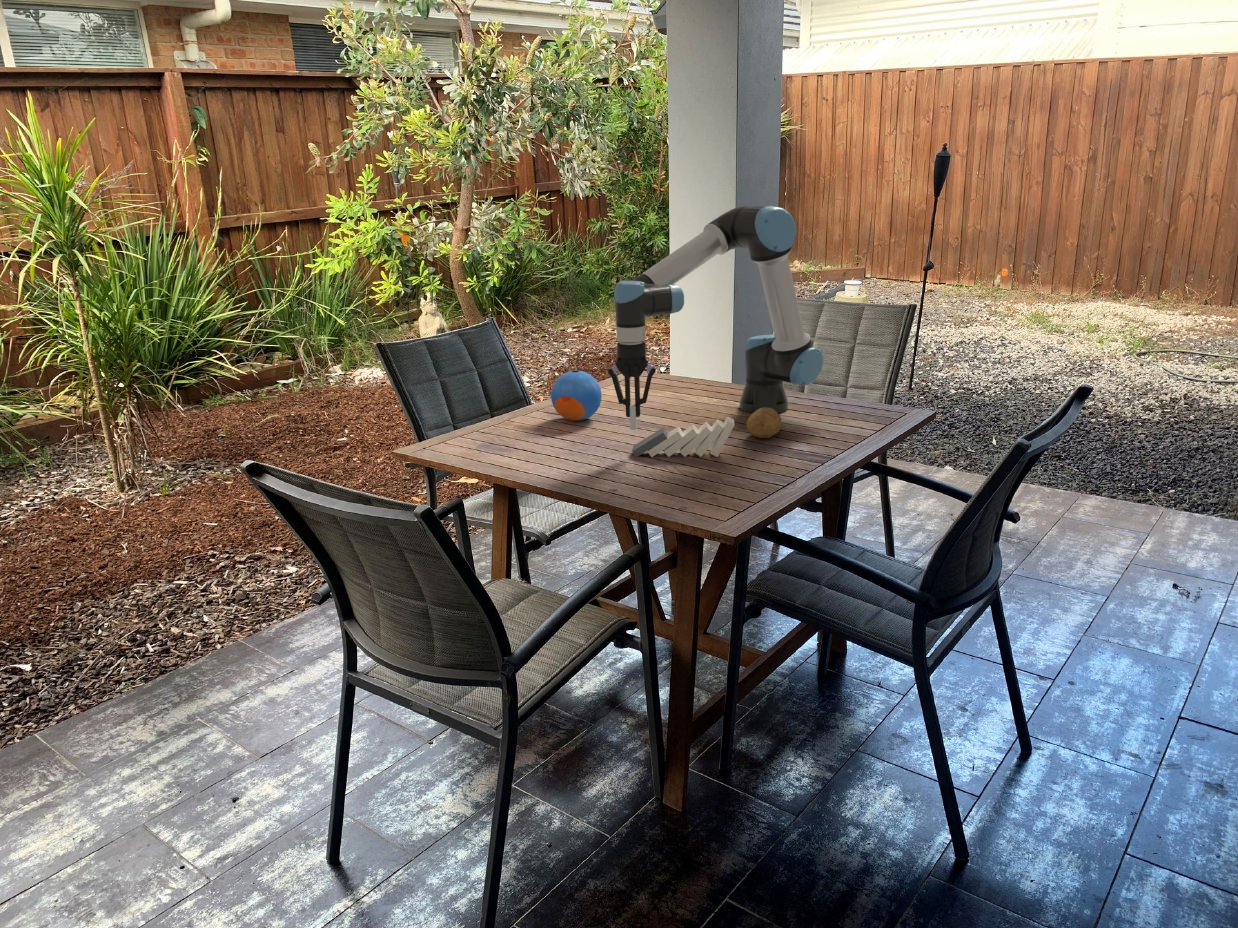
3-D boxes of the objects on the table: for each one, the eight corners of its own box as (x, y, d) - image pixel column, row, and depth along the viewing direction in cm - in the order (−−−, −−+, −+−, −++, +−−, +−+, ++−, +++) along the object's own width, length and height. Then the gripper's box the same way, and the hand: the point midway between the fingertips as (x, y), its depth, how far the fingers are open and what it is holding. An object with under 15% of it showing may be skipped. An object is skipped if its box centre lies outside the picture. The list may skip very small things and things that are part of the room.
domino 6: (717, 451, 248) (733, 419, 245) (717, 457, 243) (734, 424, 240) (710, 448, 248) (727, 416, 244) (710, 453, 243) (727, 421, 240)
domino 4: (685, 451, 249) (711, 426, 246) (684, 457, 244) (711, 431, 241) (679, 446, 248) (706, 421, 245) (679, 452, 244) (706, 426, 241)
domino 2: (652, 451, 249) (682, 431, 247) (651, 457, 245) (682, 437, 242) (648, 445, 249) (678, 426, 246) (647, 451, 244) (678, 431, 242)
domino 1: (637, 451, 250) (667, 433, 247) (636, 457, 245) (667, 438, 243) (633, 445, 249) (663, 427, 247) (631, 451, 245) (663, 432, 242)
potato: (782, 430, 265) (783, 403, 262) (779, 444, 252) (780, 416, 249) (749, 429, 267) (749, 402, 264) (744, 443, 254) (744, 415, 251)
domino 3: (669, 451, 249) (697, 429, 246) (668, 457, 244) (697, 434, 242) (664, 446, 249) (693, 423, 246) (664, 451, 244) (693, 429, 241)
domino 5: (701, 451, 248) (723, 423, 245) (701, 457, 244) (724, 428, 240) (695, 447, 248) (717, 418, 245) (695, 452, 243) (717, 424, 240)
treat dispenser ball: (544, 424, 278) (541, 375, 273) (565, 411, 292) (562, 364, 287) (590, 428, 273) (588, 378, 268) (609, 415, 286) (608, 367, 281)
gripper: (656, 338, 241) (658, 424, 248) (607, 339, 242) (610, 424, 249) (655, 344, 233) (657, 432, 241) (604, 345, 235) (608, 432, 242)
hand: (633, 428), depth 245 cm, fingers closed
